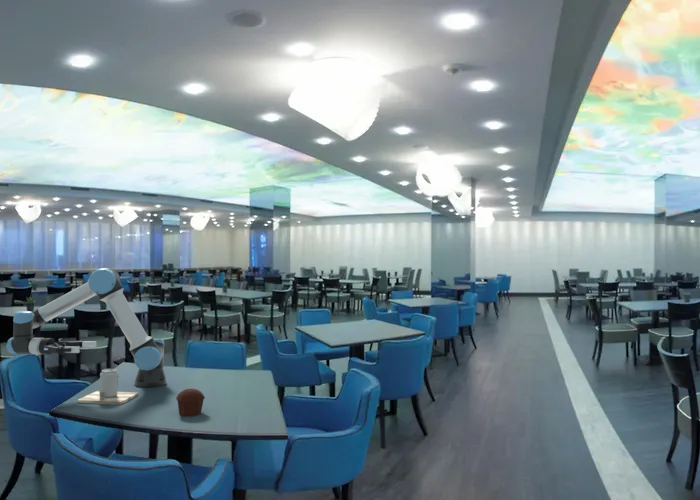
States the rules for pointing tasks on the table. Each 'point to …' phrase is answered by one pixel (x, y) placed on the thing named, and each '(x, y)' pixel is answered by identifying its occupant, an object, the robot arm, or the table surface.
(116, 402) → the pin base
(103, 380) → the can
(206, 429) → the table surface
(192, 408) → the muffin
